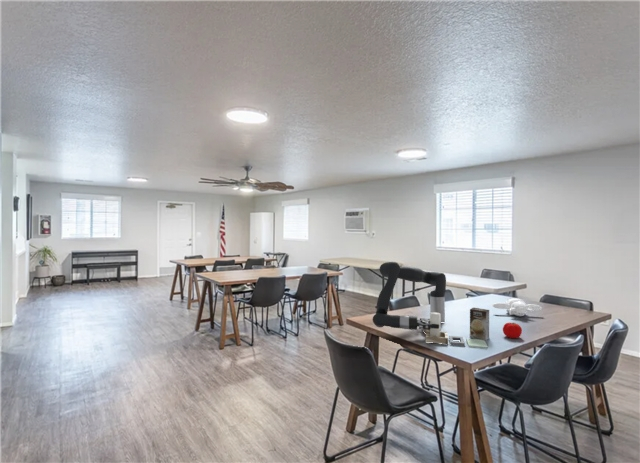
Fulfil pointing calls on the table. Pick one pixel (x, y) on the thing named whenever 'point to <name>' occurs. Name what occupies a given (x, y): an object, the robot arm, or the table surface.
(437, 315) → the white tall block
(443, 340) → the cubby
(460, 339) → the hole plate
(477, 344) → the pad
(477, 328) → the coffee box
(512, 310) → the white quadcopter drone
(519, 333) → the tomato
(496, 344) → the table surface
